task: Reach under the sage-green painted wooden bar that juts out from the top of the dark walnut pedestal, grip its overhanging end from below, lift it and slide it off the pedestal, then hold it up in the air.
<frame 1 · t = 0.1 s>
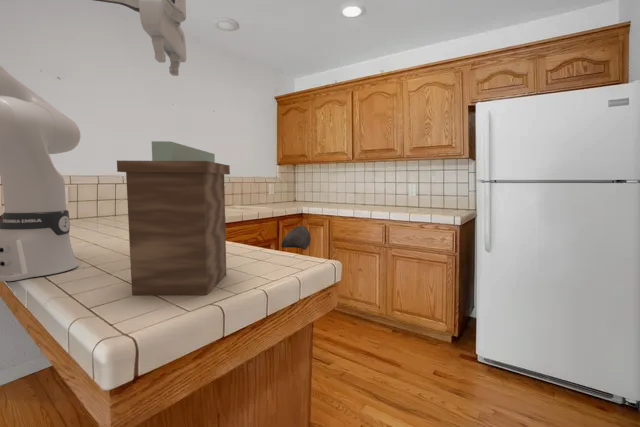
hand: (167, 68, 79), 48 cm above the countertop, tool pointing down, fingers open, 8 cm apart
stone: (296, 248, 110), on the countertop
pedestal: (183, 283, 70), on the countertop
bar: (189, 164, 73), point 25 cm above the countertop, touching pedestal
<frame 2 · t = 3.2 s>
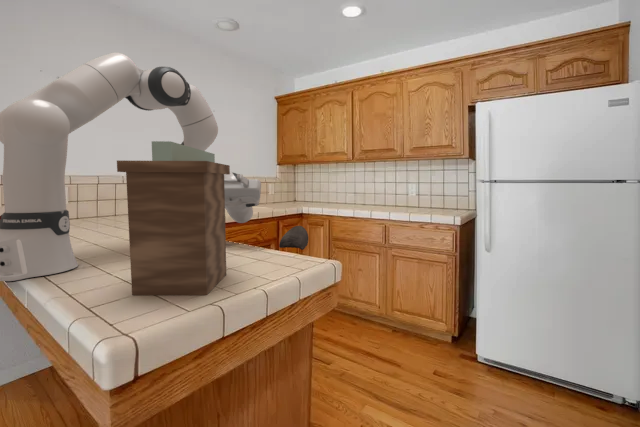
hand: (223, 176, 99), 23 cm above the countertop, tool pointing upward, fingers open, 8 cm apart
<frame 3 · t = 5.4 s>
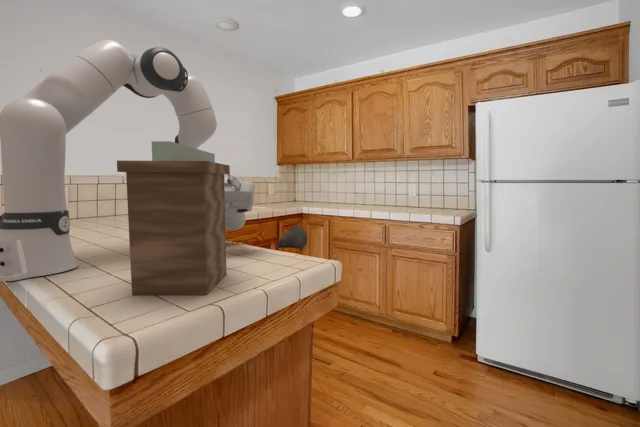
hand: (212, 177, 89), 22 cm above the countertop, tool pointing upward, fingers open, 8 cm apart
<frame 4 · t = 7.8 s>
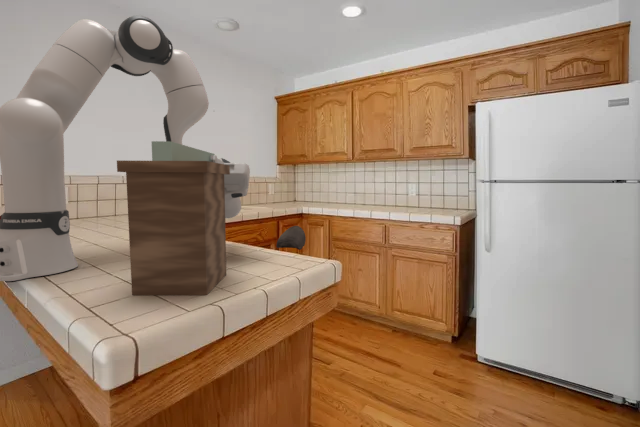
hand: (202, 157, 81), 27 cm above the countertop, tool pointing upward, fingers closed on bar, 3 cm apart
bar: (189, 164, 73), point 25 cm above the countertop, touching gripper, pedestal
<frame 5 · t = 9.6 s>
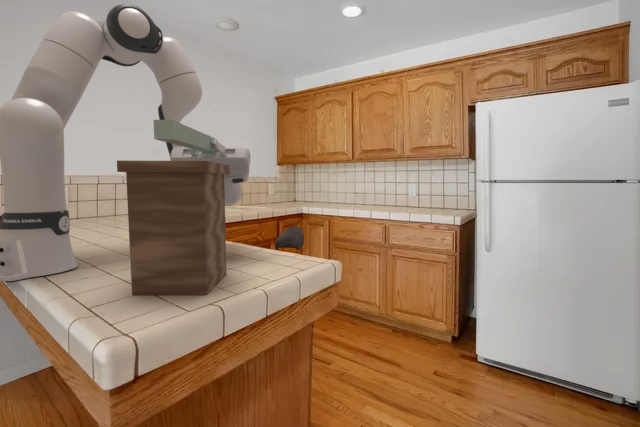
hand: (203, 141, 82), 31 cm above the countertop, tool pointing upward, fingers closed on bar, 3 cm apart
bar: (190, 146, 73), point 29 cm above the countertop, touching gripper
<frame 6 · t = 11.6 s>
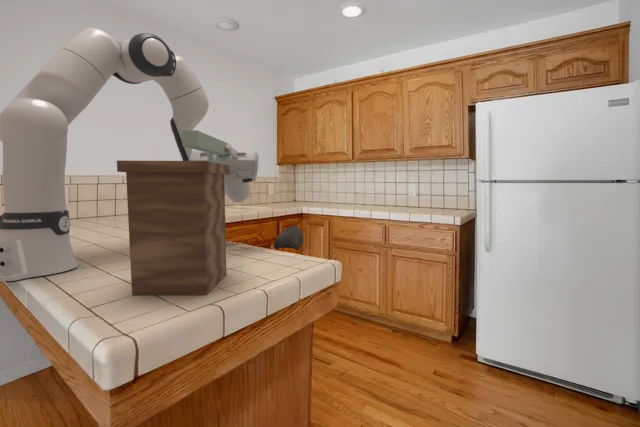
hand: (218, 146, 94), 31 cm above the countertop, tool pointing upward, fingers closed on bar, 3 cm apart
bar: (209, 151, 86), point 29 cm above the countertop, touching gripper
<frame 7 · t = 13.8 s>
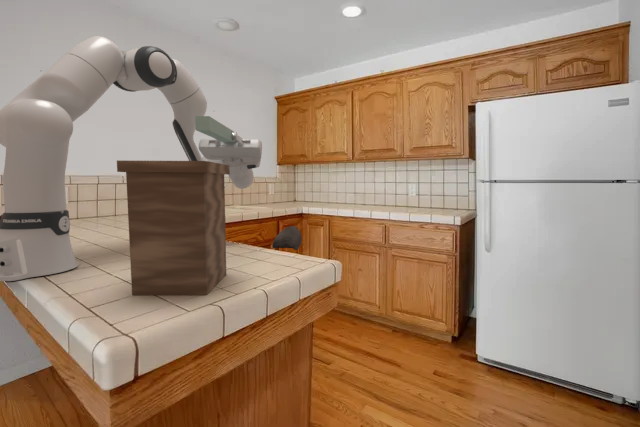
hand: (226, 133, 104), 36 cm above the countertop, tool pointing upward, fingers closed on bar, 3 cm apart
bar: (217, 137, 95), point 34 cm above the countertop, touching gripper
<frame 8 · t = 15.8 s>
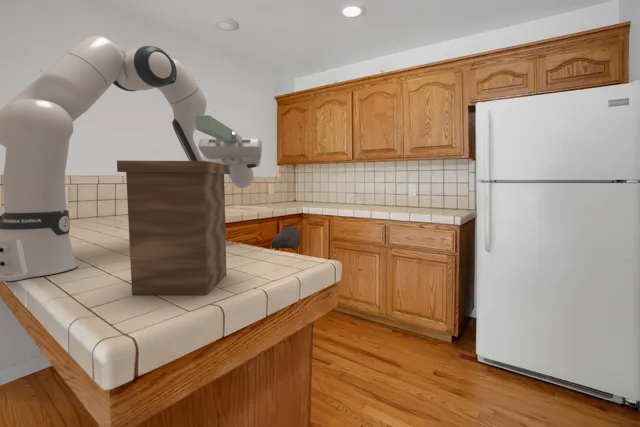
hand: (225, 133, 104), 36 cm above the countertop, tool pointing upward, fingers closed on bar, 3 cm apart
bar: (218, 136, 95), point 34 cm above the countertop, touching gripper
at the end: the gripper is holding bar; bar touching gripper; bar moved 25.4 cm from its start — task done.
